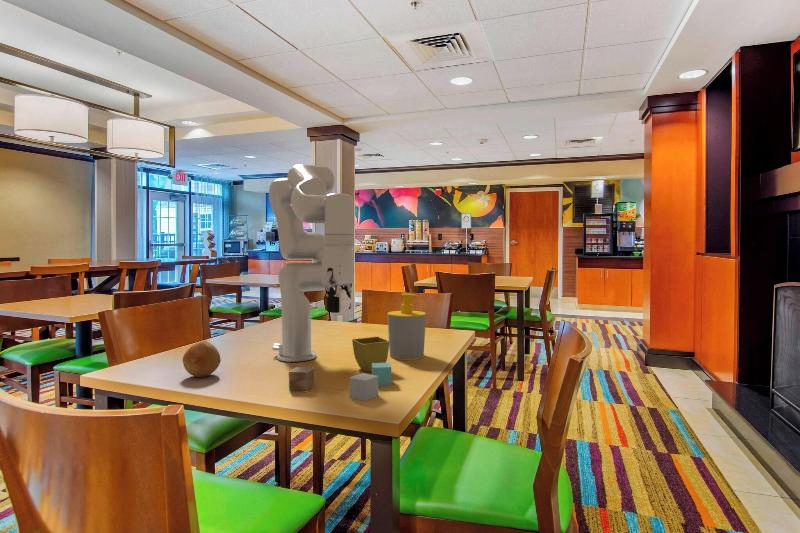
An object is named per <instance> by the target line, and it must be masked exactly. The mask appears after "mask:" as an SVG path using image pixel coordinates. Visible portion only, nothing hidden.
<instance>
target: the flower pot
mask: <svg viewBox="0 0 800 533" xmlns="http://www.w3.org/2000/svg"><path fill="white" fill-rule="evenodd" d="M351 343H352V350H353V355H354V359H355V361H356V363H357V365H358V367H359V368H360V369H362V370H363V371H365V372H367V373H369V372H370V373H371V372H372V363H387V361H388V358H389V357H388V356H389V339H385V338H382V337H380V336H370V337H361V338H359V337H358V338H352V342H351Z"/></svg>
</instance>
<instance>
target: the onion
mask: <svg viewBox="0 0 800 533" xmlns="http://www.w3.org/2000/svg"><path fill="white" fill-rule="evenodd" d="M221 360H222V359H221V355H220V352H219V350H218V348H217V347H216V346H215V345H214V344H213V343H211V342H210V341H209V342H208V341H206V340H200V341H197V342H195V343H193V344H192V345H191V346H190V347H189V348H188V349H187V350H186V351H185V353H184V354H183V356H182V362H183V363H182V364H183V367H184V369H185V371H186V372H187V373H188V374H189V375H190V376H193V377H197V378H201V379H202V378H206V377H208V376H210V375H211V374H213V373H214V372H216V371H217V369H218V367H219V366H220V364H221Z"/></svg>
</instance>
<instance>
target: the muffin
mask: <svg viewBox="0 0 800 533" xmlns="http://www.w3.org/2000/svg"><path fill="white" fill-rule="evenodd" d="M334 291H335V289H334ZM338 297H339V312H338V313H332V315H334V316H345V315H346V314H347V312H348V311H349V310H350V309H349V307H350V304H351V305H352V298H351V299H350V298H349V297H348V295H347V294H346V291H345V290H344V289H340V287H339V292H338Z"/></svg>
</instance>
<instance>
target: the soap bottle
mask: <svg viewBox="0 0 800 533" xmlns="http://www.w3.org/2000/svg"><path fill="white" fill-rule="evenodd" d="M400 296H402V297H403V298H402V299H403V302H402V303H401V304H400V310H393V311H388V312H387V313H386V314H387V315H386V316H387V317H386V318H387V328H388V329H387V330H388V341H389V350H388V352H389V357H390V358H391V359H393V360H398V361H414V360H420V359H423V358H424V355H425V338H426V322H427V321H426V320H427V314H426V312H425V311H420V310H413V304H412V303H411V297H414V298H415V297H416V298H417V297H418V295H417V294H415V293H414V294H413V293H408V292H407V293H401V294H400Z"/></svg>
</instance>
